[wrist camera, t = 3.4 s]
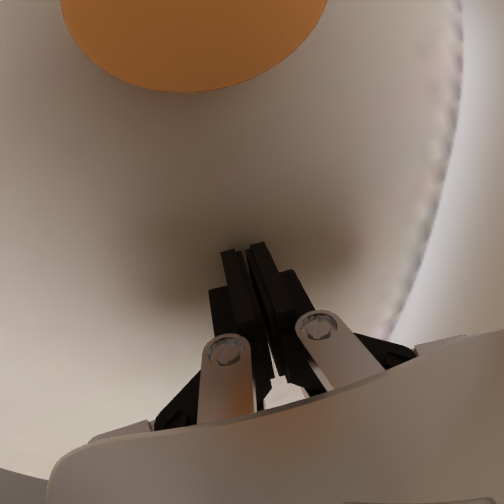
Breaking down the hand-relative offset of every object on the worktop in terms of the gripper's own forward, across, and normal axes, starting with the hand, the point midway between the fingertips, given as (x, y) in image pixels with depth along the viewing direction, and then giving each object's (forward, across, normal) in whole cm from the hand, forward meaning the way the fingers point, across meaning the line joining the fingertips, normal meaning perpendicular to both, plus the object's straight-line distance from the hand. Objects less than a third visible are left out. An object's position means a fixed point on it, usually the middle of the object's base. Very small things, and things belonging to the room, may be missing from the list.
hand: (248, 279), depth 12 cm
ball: (-2, 0, -10) cm, 10 cm away
